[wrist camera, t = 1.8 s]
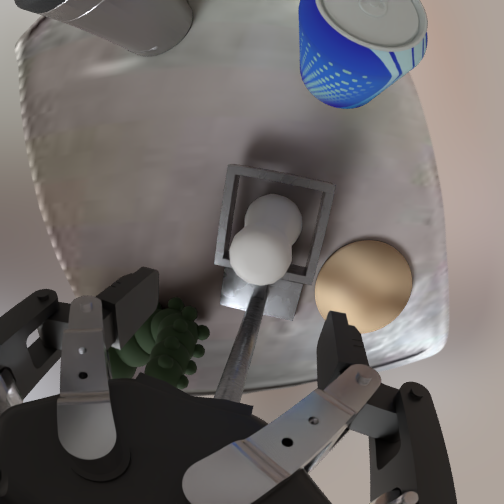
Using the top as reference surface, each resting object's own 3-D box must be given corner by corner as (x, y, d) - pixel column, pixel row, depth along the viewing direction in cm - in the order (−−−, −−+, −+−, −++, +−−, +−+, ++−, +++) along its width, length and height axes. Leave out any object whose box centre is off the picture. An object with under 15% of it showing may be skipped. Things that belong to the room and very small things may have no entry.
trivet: (329, 229, 30) (329, 230, 29) (423, 252, 29) (425, 254, 28) (303, 322, 34) (303, 324, 33) (389, 336, 33) (390, 339, 32)
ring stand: (237, 163, 29) (103, 185, 9) (331, 182, 28) (406, 245, 8) (217, 299, 35) (135, 445, 14) (297, 317, 34) (282, 485, 13)
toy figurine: (195, 265, 36) (81, 323, 41) (128, 352, 18) (14, 388, 23) (231, 324, 38) (112, 366, 43) (200, 434, 20) (59, 439, 25)
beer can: (392, 84, 23) (465, 33, 8) (337, 126, 26) (377, 93, 11) (339, 29, 22) (364, -57, 7) (283, 68, 25) (265, -10, 10)
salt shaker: (261, 182, 29) (233, 200, 17) (311, 204, 29) (318, 238, 17) (241, 230, 32) (204, 278, 19) (288, 251, 31) (279, 312, 19)
